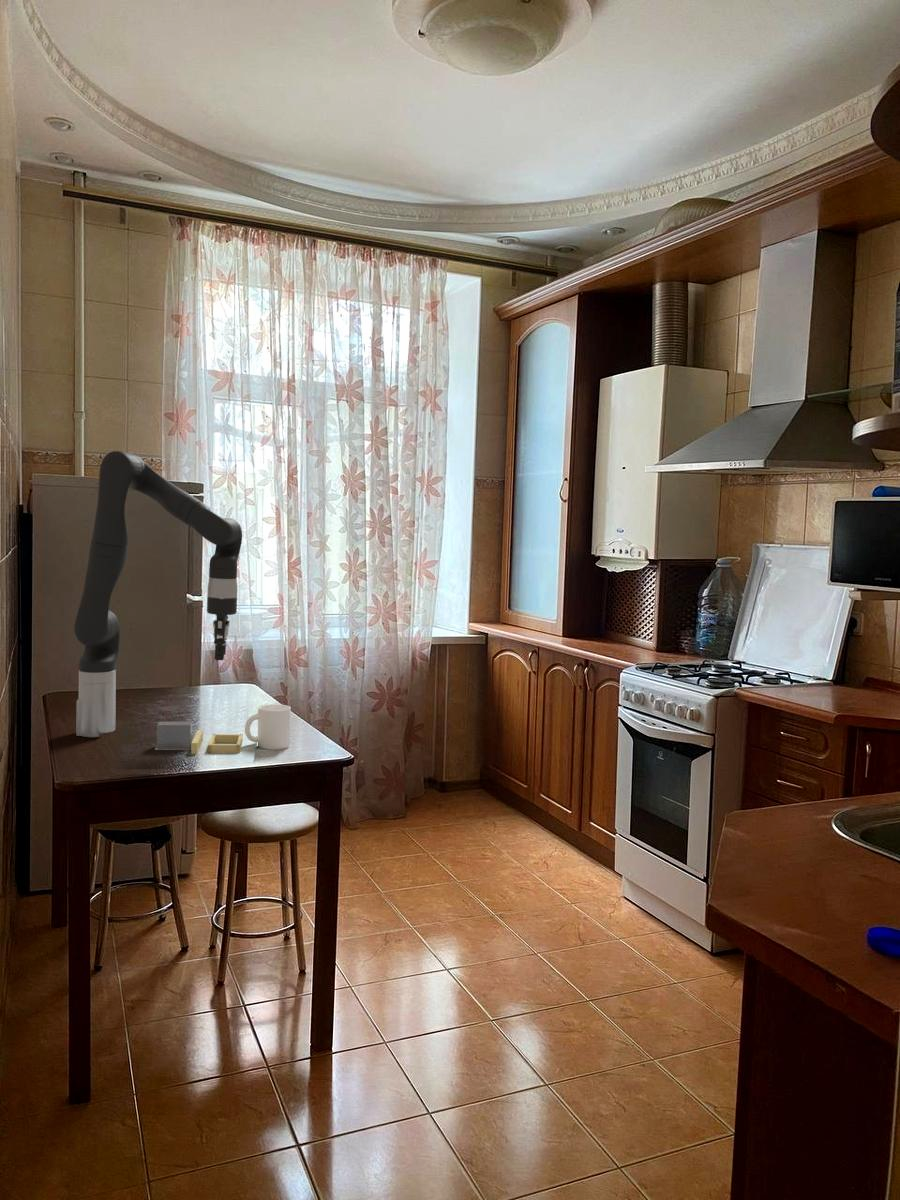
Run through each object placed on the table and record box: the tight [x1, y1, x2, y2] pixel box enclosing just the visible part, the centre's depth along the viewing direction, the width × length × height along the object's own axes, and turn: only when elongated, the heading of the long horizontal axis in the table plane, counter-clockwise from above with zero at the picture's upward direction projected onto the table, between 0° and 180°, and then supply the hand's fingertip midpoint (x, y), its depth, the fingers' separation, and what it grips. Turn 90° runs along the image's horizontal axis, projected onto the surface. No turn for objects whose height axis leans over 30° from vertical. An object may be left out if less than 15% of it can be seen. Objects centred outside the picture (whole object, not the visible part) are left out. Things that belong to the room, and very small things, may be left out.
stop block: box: [156, 721, 193, 749], centre depth 234 cm, size 8×4×6 cm, turn 99°
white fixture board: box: [154, 729, 244, 755], centre depth 235 cm, size 22×14×4 cm, turn 99°
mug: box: [244, 703, 292, 751], centre depth 241 cm, size 12×8×10 cm
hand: (220, 657), depth 243 cm, fingers open, 8 cm apart
